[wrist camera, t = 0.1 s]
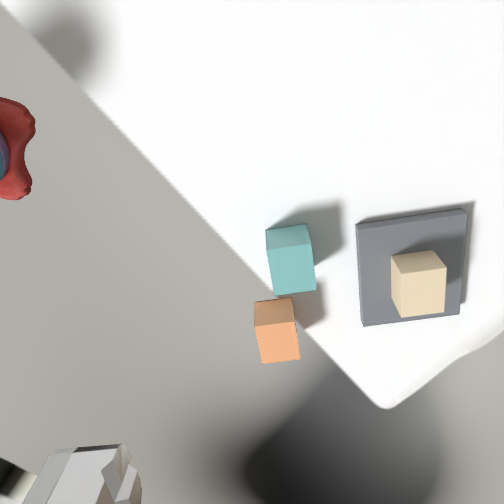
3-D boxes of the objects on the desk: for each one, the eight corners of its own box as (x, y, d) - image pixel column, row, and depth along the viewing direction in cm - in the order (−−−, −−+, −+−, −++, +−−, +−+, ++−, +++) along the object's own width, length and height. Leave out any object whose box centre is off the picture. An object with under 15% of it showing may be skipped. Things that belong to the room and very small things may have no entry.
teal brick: (265, 229, 50) (266, 250, 45) (306, 223, 49) (311, 243, 45) (272, 272, 52) (274, 295, 48) (311, 267, 52) (316, 289, 48)
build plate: (355, 224, 49) (366, 246, 44) (461, 208, 48) (484, 229, 43) (360, 319, 56) (371, 347, 51) (454, 307, 55) (473, 335, 50)
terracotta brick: (254, 301, 55) (254, 326, 50) (291, 296, 54) (294, 321, 50) (261, 337, 57) (262, 363, 53) (296, 332, 57) (300, 359, 53)
